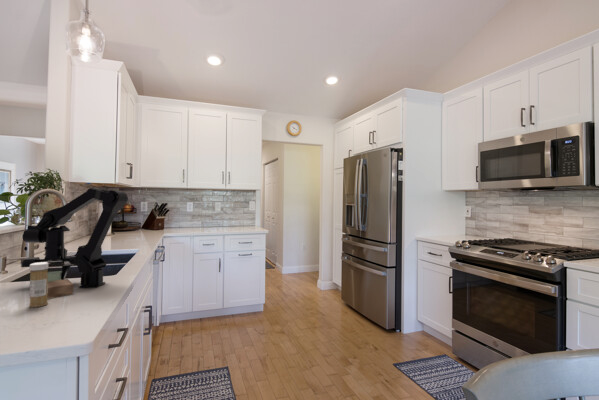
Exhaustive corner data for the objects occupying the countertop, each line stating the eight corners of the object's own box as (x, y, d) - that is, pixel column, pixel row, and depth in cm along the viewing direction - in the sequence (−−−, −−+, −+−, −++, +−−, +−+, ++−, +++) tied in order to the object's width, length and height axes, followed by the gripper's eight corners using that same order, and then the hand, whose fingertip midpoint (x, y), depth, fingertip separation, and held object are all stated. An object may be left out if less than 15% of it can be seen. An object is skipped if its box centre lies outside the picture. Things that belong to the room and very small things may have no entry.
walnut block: (67, 289, 117) (67, 278, 117) (73, 295, 110) (73, 283, 110) (32, 294, 110) (32, 283, 110) (36, 301, 103) (36, 289, 103)
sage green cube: (63, 283, 124) (63, 270, 124) (60, 286, 119) (60, 273, 119) (48, 284, 122) (48, 271, 122) (43, 287, 117) (44, 274, 117)
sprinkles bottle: (49, 302, 101) (50, 261, 101) (45, 306, 97) (46, 263, 97) (31, 304, 99) (32, 262, 99) (26, 308, 95) (27, 265, 95)
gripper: (87, 239, 132) (87, 276, 132) (32, 241, 124) (31, 280, 124) (81, 242, 122) (80, 282, 122) (20, 245, 114) (20, 287, 114)
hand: (54, 282), depth 121 cm, fingers closed on sage green cube, 5 cm apart
